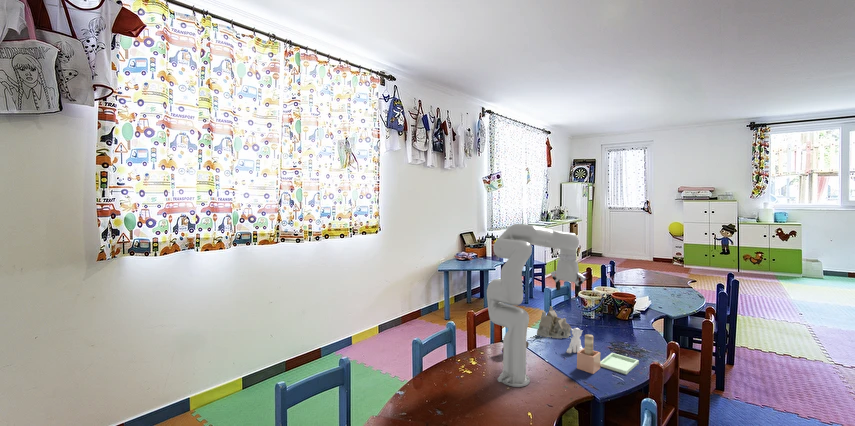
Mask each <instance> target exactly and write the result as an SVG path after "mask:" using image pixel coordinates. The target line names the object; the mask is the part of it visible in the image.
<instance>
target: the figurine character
mask: <svg viewBox="0 0 855 426" xmlns="http://www.w3.org/2000/svg"><path fill="white" fill-rule="evenodd" d="M499 342H500V343H502V344H503V339H500V340H499ZM528 347H529V342H528V341H527V340H526V349H527V348H528ZM501 351H502V353H503V347H502V348H501Z"/></svg>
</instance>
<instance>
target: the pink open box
mask: <svg viewBox="0 0 855 426" xmlns="http://www.w3.org/2000/svg"><path fill="white" fill-rule="evenodd" d="M582 348H583V349H582V350H580V351H579V352H577V351H576V369H577V370H581V371H584V372H586V373H589V374H592V375H594V374H596V372H598V371H599V370H600V369H601V367H600V361H601V352H600V351H597V350H594V349H593V356H589V355H586V354H584V353H585V347H582Z"/></svg>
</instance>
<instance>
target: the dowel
mask: <svg viewBox="0 0 855 426" xmlns="http://www.w3.org/2000/svg"><path fill="white" fill-rule="evenodd" d="M584 348H585V353H584V354H586V355H589V356H593V350H594V335H593V334H589V333H588V334H584Z"/></svg>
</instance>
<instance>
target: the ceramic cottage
mask: <svg viewBox="0 0 855 426" xmlns="http://www.w3.org/2000/svg"><path fill="white" fill-rule="evenodd" d="M571 329H572V326H571V325H570V324H569V323H568V322H567V319H566V318H565V317H564V318H562V317H558V314H557V313H556V311H555V310H554V309H553V307H552V306H549V308H548V312H547V313H546V311H542V312H541V316H540V321H539V324H538V328H537V331H536V335H537V336H540V337H542V338H543V337H544V338H547V337H550V338H551V337H552V339H562V338H566V339H568V338H570V337H569V336H571V337H572V333H571Z"/></svg>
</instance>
